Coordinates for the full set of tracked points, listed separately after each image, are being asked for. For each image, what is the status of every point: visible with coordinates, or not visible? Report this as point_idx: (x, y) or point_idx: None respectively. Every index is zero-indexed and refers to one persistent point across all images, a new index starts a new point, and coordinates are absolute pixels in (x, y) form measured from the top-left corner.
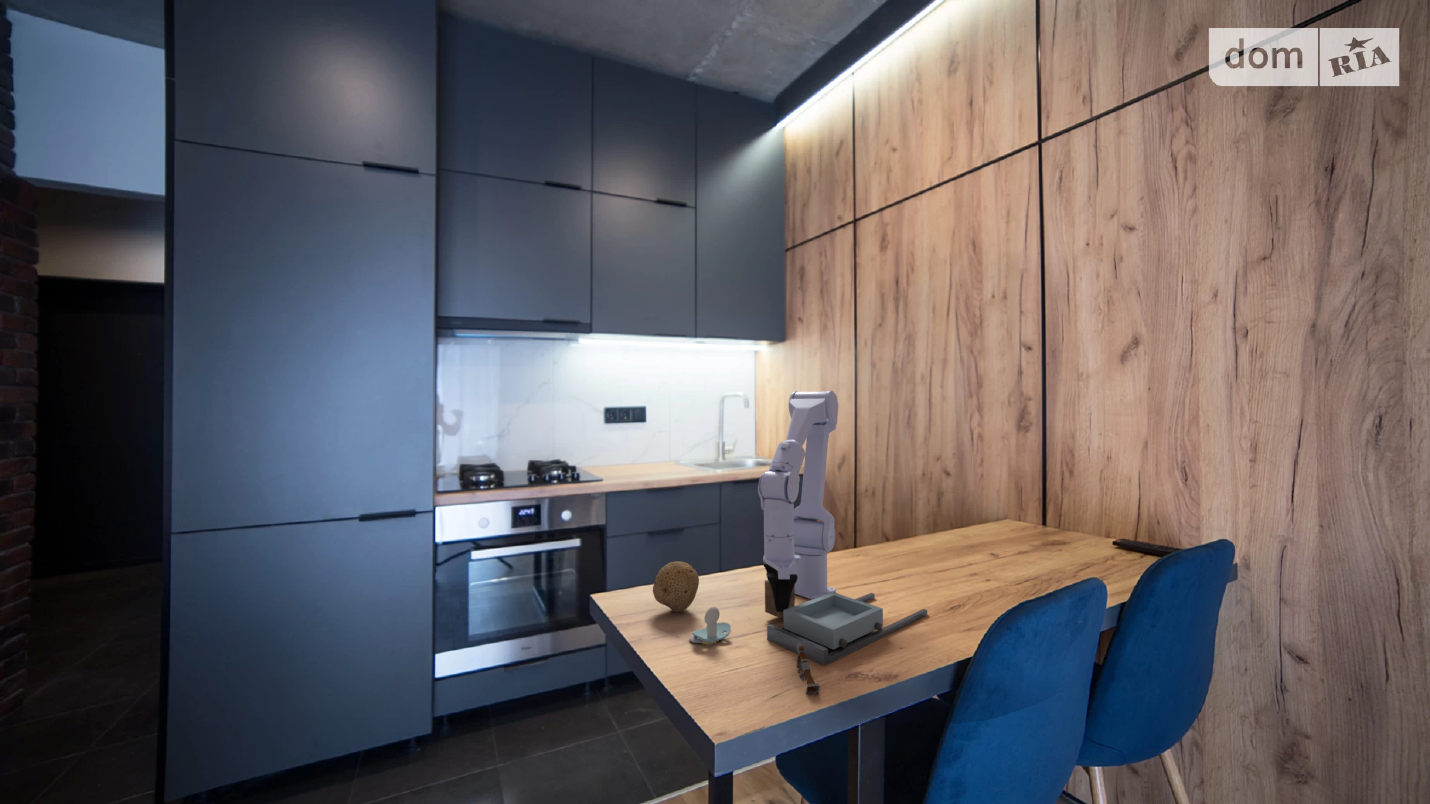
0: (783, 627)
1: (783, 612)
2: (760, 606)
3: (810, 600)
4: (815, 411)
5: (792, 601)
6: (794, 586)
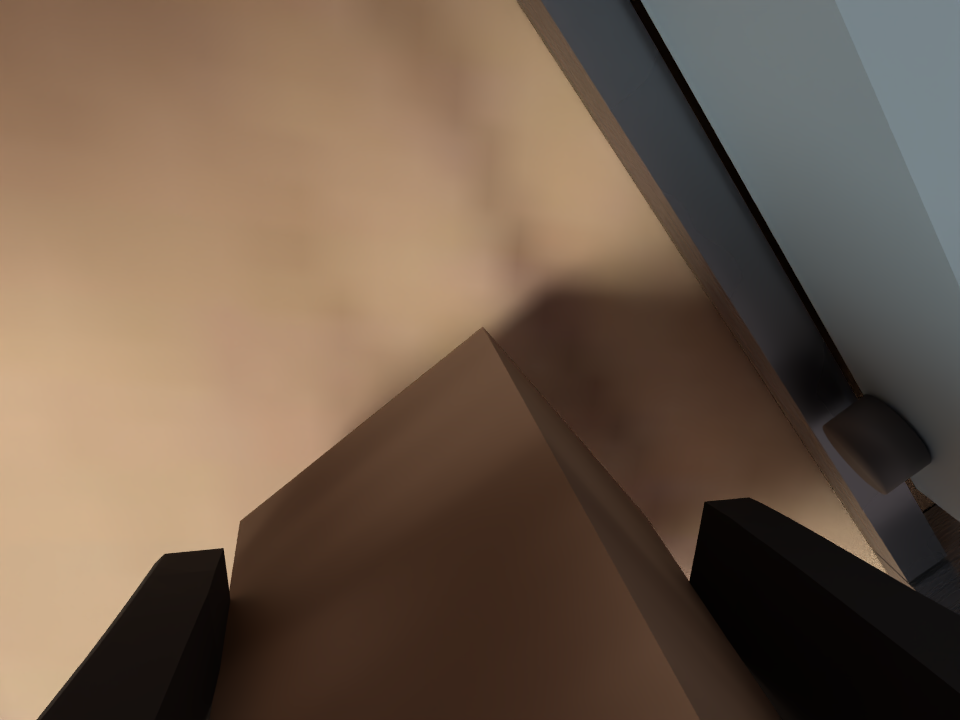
0: (851, 479)
1: (638, 516)
2: (17, 676)
3: (906, 149)
4: None
5: (567, 456)
6: (646, 627)
